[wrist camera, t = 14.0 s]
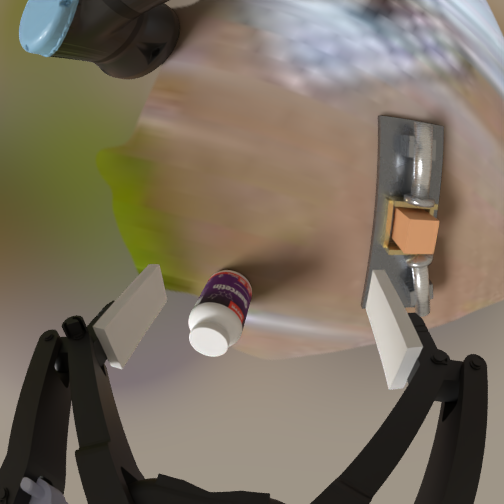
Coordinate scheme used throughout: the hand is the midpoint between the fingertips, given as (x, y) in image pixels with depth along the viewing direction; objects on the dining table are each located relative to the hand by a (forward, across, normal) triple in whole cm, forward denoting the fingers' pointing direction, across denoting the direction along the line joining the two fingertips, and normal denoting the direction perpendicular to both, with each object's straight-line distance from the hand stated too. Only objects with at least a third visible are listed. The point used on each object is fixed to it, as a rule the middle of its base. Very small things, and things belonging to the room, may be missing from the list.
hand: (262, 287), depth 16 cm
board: (+27, +20, -4) cm, 34 cm away
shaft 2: (+25, +23, -13) cm, 37 cm away
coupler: (+26, +20, -4) cm, 33 cm away
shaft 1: (+25, +20, +6) cm, 33 cm away
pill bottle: (+27, -9, -17) cm, 33 cm away
